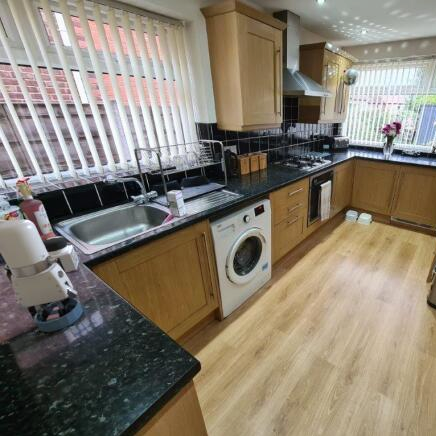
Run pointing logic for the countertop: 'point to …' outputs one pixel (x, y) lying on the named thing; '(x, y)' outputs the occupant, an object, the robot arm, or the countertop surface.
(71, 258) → the container
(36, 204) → the liquor
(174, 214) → the syrup box
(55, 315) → the eraser
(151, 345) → the countertop surface
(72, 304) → the bowl
